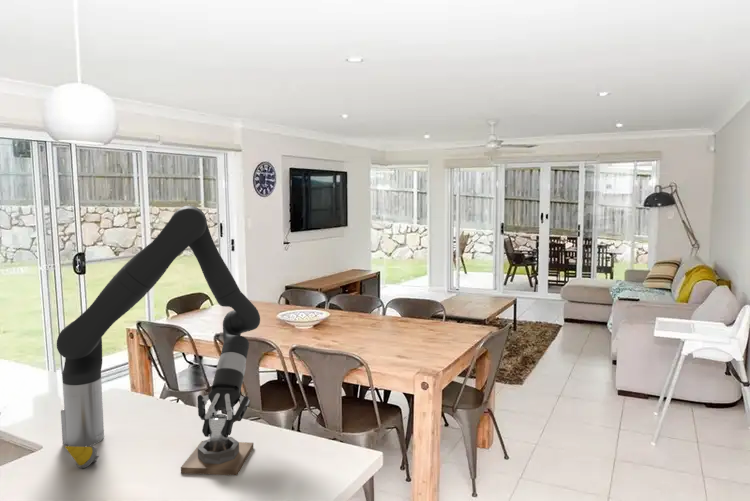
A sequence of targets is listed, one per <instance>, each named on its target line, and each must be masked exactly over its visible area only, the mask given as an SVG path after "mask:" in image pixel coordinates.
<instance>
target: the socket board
mask: <svg viewBox="0 0 750 501" xmlns="http://www.w3.org/2000/svg"><path fill="white" fill-rule="evenodd" d="M253 450H254V442H243V441H241V442H239V441H238V440H237V439H236V438H234V437H232V436H228V448H227V449H226V450H224V451H221V452H213V451H211V450H210V439H209V438H208V439H205V440H201V441H200V443H199V444H198V445H197V447H195V449H194V450H193V452H191V454H190V455H189V457H187V459H186V460H185V461H184V462H183V464H182V465H181V466H180V474H187V475H189V474H191V475H218V476H219V475H220V476H238V475H239V473H240V472H241V470H242V469H243V466H244V465H245V464H246V461H247V460H248V458H249V457H250V455H251V453H252V451H253Z"/></svg>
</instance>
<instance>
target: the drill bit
mask: <svg viewBox="0 0 750 501" xmlns="http://www.w3.org/2000/svg"><path fill="white" fill-rule="evenodd" d="M64 448H65V449H66V451H68V453H69V454H70V456H71V457H72V458H73V459H74V460H75V463H76V464H75V465H76V466H77V467H78V468H81V469H86V468H87V467H88V466H90V465H91V464H92V463H95V462H97V459H98V458H99V457H100V456H99V455H97V451H98V450H97V448H96V447H95V446H93V445H89V446H85V447H78V446H68V445H65V446H64Z"/></svg>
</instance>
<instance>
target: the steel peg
mask: <svg viewBox="0 0 750 501" xmlns="http://www.w3.org/2000/svg"><path fill="white" fill-rule="evenodd" d="M226 420H227V414H223V413H217V414H216V415H213V416H211V417H209V437H208V439H210V450H211V451H213V452H221V451H224V450H226V449H227V448H228V438H226V437H224V436H223V432H224V427H225V423H226Z"/></svg>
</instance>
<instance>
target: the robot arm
mask: <svg viewBox="0 0 750 501" xmlns="http://www.w3.org/2000/svg"><path fill="white" fill-rule="evenodd" d="M207 221H208V220H207V217H206V214H205V213H204V212H203V211H202V210H201V209H200V208H199V207H197V206H194V205H183V206H182V207H180V208H178V209H177V210H176V211H174V213H173V214H172V216H171V217H170V219H169V221H168V222H167V223H166V224H165V226H164V227H163V229H162V230H161V231H160V232H159V233H158V235H157V236H156V237H155V238H154V239H153V240H152V241H151V242H150V243H149V244H148V245H147V246H145V247H144V248H142V249H141V250H140V251H138V253H136V254H135V255H134V256H133V257H132V258H130V260H128V261H127V262H125V264H124V265H123V266H122V267H121V268H120V269H119V270H118V271H117V273H115V274H114V275H113V276H112V278H111V279H110V280H109V282H108V283H107V284H106V285H105V287H104V288H103V289H102V290H101V292H100V293H99V294H98V296H97V297H96V298H95V300H94V301H93V302H92V303H91V305H89V307H88V308H87V309H85V311H84V312H82V313H81V314H80V315H79V316H78V317H77V318H75V320H74V321H72V322H70V323H69V324H67V326H65V327H64V328H63V329H62V330H60V332H59V334H58V336H57V338H56V339H57V340H56V349H57V352H58V353H59V355H60V356H61V357H62V358H64V367H63V370H62V375H61V376H62V377H61V379H62V391H63V393H62V394H63V408H62V409H61V410H60V420H61V421H60V422H61V423H60V424H61V438H62V441H61V442H62V445H65V446H78V447H87V446H89V445H91V446H93V445H96V444H98V443H99V442H101V441H103V439H104V437H105V428H104V427H105V426H104V405H103V404H104V403H103V388H102V387H103V385H102V384H103V383H102V366H103V336H104V335H105V334H106V333H107V331H108V330H109V329H110V327H112V325H114V323H116V322H117V321H118V320H119V319H120V318H121V317H122V316H124V315H125V314H126V313H127V312H128V311H129V310H131V309H132V308H133V307H134V306H135V305H137V303H138V302H140V301H141V300H142V299H143V298H144V297H145V296H146V295H147V294H148V293H149V292H150V291H151V289H153V288H154V286H155V285H156V284H157V282H158V281H159V280H160V279H161V278H162V277H163V275H164V274H165V273H166V272H167V270H168V268H169V267H170V265H171V264H172V263H173V262H174V261H175V259H176V258H178V256H180V254H182V253H183V252H184V251H185V250H186V249H187V248H190V250H191V251H192V253H193V254H194V257H195V258H196V260H197V262H198V265H199V267H200V269H201V271H202V273H203V277H204V278H205V281H206V283H207V285H208V287H209V289H210V291H211V293H212V295H213V297H214V298H215V301H216V302H217V304H218V305H219V306H220V307H222V308H224V307H226V308H228V307H229V308H232V310H231V311H229V312H228V313H226V314H225V316H224V318H223V320H222V334H223V335H222V336H223V345H222V348H221V353H220V357H219V359H218V362H217V364H216V369H215V372H214V377H213V382H212V385H211V390H210V392H209V393H208V394H207V395H206V394H205V395H202V394H198V396H197V414H198V417H199V418H200V419H201V420H202V421H204V422H203V426H202V430H201V432H202V434H203V436H204V437H205V438H209V417H211V416H213V415H216V414H218V412H219V411H220V412H221V411H226V416H227V420H226V423H225V427H224V432H223V436H224V437H226V438H228V437H229V436H231V434H232V430H233V425H234V423H235V422H241V421H242V419H243V417H244V415H245V413H246V412H247V409H248V407H249V405H250V404H251V400H250V399H249V397H248V396H247V395H246V396H242V395H241V391H242V387H243V386H242V385H243V382H244V377H245V374H246V365H247V358H248V353H249V348H250V342H249V339H247V337H245V336H243V335H242V334H244V333H247V332H251V331H254V330H256V329H257V328H258V327H259V325H260V323H261V315H260V311H259V310H258V308H257V307H256V306H255V305H254V303H252V301H251V300H249V298H248V297H247V296H246V295H245V294H244V293H243V292H242V291H241V289H240V287H239V285H238V283H237V282H236V280H235V278H234V277H233V275H232V273H231V271H230V270H229V269H230V268H228V266H227V264H226V262H225V261H224V259H223V257H222V256H221V253H220V252H219V251H218V248H217V246H216V244H215V242H214V240H213V238H212V237H213V236H212V234H211V232H210V229H209V228H210V227H209V225H208V222H207ZM241 335H242V336H241ZM208 401H210V404H209V407H208V409H207V412H206V405H207V403H208ZM238 403H239V404H240V405H239V406H238V408H237V410H236V412H235V410H234V409H235V408H234V407H235V406H236V405H237V404H238Z"/></svg>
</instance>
